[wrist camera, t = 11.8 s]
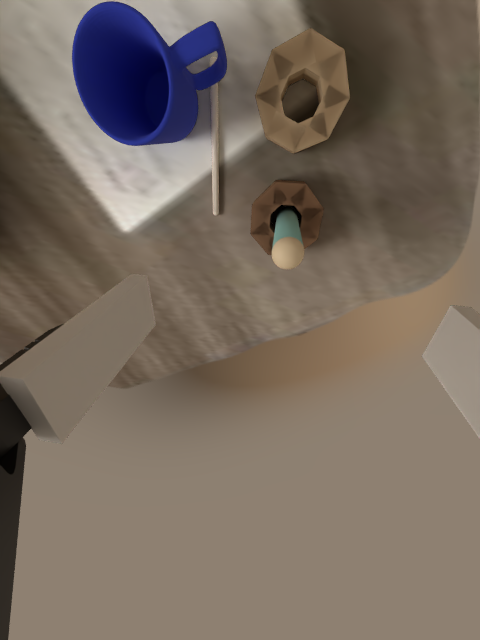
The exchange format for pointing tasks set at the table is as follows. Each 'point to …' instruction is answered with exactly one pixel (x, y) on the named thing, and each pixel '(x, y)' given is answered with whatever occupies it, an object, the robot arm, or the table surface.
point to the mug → (141, 74)
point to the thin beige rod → (215, 143)
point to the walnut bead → (286, 195)
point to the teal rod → (287, 240)
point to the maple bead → (318, 69)
